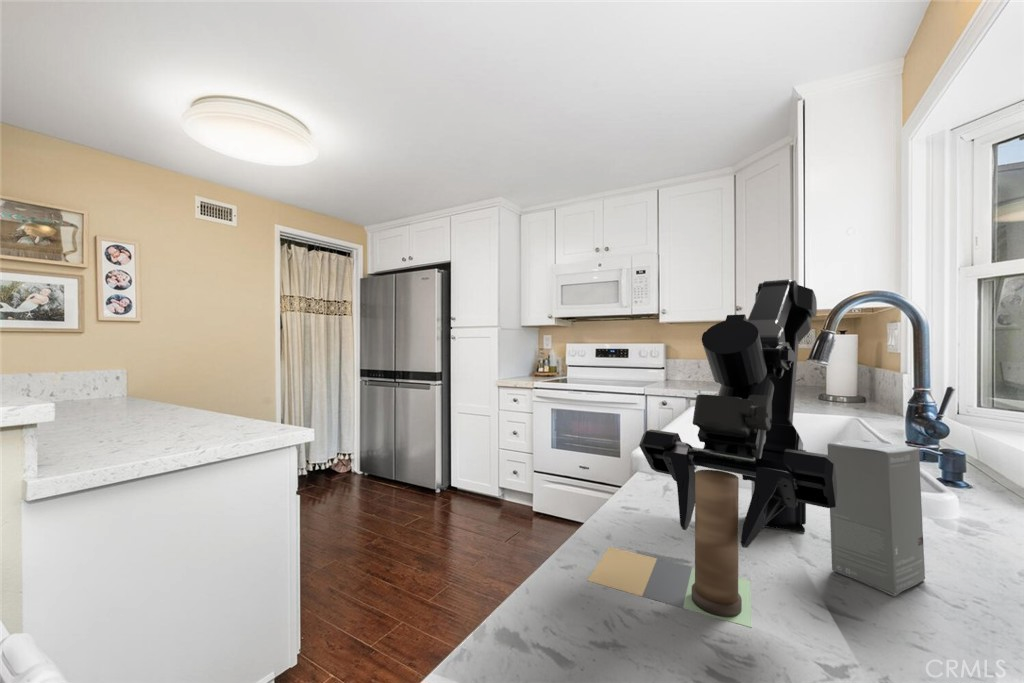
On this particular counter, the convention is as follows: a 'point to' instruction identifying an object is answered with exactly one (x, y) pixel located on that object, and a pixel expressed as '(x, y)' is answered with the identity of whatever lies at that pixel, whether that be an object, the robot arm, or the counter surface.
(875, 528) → the skincare box
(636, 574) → the striped board
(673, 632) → the counter surface
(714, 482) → the walnut peg
